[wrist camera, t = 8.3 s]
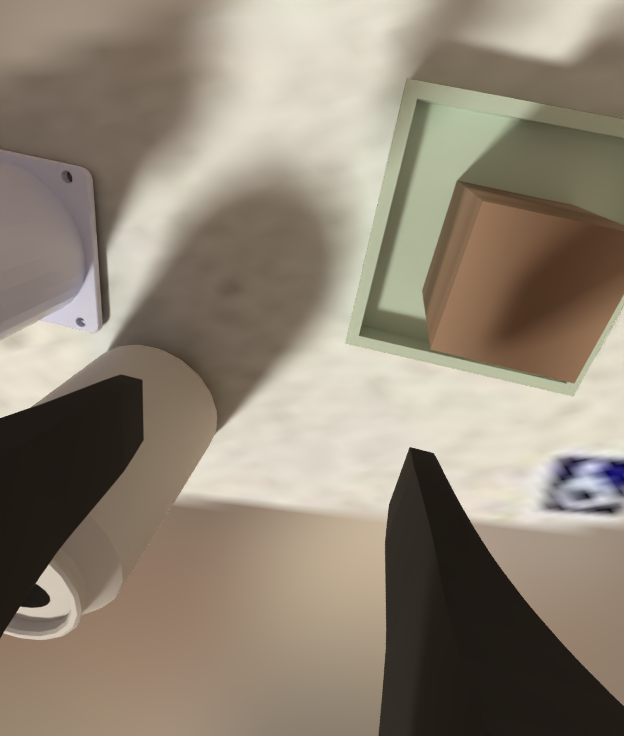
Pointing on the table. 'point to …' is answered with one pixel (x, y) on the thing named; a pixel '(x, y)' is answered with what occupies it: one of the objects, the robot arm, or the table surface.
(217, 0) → the table surface
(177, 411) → the can
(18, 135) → the table surface
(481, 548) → the robot arm
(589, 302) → the block
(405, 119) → the tray
